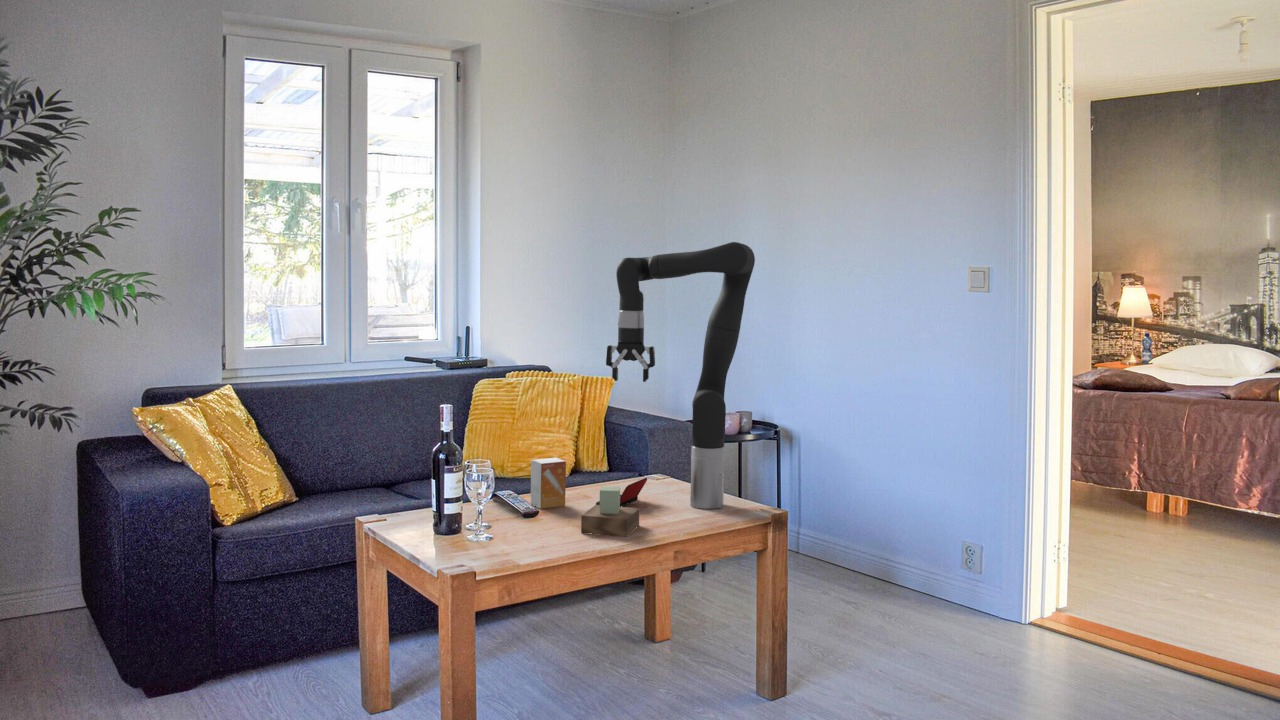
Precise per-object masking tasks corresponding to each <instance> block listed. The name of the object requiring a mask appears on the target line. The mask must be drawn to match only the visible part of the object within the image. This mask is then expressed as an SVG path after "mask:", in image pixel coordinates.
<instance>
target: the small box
mask: <svg viewBox="0 0 1280 720" xmlns="http://www.w3.org/2000/svg"><path fill="white" fill-rule="evenodd" d="M566 473H567V461H566V460H564V459H561V458H559V457H556V456H555V457H549V458H546V457H545V458H540V459H539V458H538V459H537V458H536V459H531V460H530V505H531V504H533V505H534V506H533V505H532V506H533V507H535V506H536V507H535V508H537V509H541V510H543V509H549V508H560V507H565V506H566V487H567V486H566V485H567V484H566V481H567V480H566V478H567V474H566Z"/></svg>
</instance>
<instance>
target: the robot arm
mask: <svg viewBox="0 0 1280 720" xmlns="http://www.w3.org/2000/svg"><path fill="white" fill-rule="evenodd" d="M755 262H756V258H755V254H754V251H753V249H752V248H751V247H750V246H748V245H747V244H744V243H741V242H735V241H731V242H727V243H725V244H721V245H718V246H714V247H711V248H706V249H702V250H696V251H694V250H693V251H684V252H673V253H663V254H661V253H660V254H655V255H652V256H645V257H644V256H643V257H625V258H622V259H621V260H619V262H618V264H617V267H616V272H615V273H616V282H617V289H618V293H619V309H618V310H619V313H618V320H617V321H618V323H617V328H618V329H617V331H618V333H617V337H618V338H617V345H612V344H610V345H608V346H607V347H606V359H605V364H606V366H608V367H610V368H611V369H612V370H611V371H612V373H611V378H612V379H613V380H614V382H617V381H618V379H619V368H618V366H619V365H620V363H621V362H622V361H623V360H624V361H627V362H629V361H632V362H635V361H636V362H637V361H638V363H639V364H641V366H642V367H643V369H642V382H643V383H644V382H645V383H646V382H647V381H648V380H649V374H650V373H649V369H652V368H654V367H655V366H656V357H655V353H656V352H655V346H653V345H652V346H645V344H644V339H645V337H644V336H645V334H644V333H645V314H644V299H645V298H644V294H643V291H641V290H640V282H644V281H651V280H654V279H655V280H665V279H673V278H674V279H675V278H681V277H686V276H690V275H695V274H700V273H701V274H702V273H719V274H723V279H722V284H721V285H722V286H721V289H720V293H719V295H718V298H717V300H716V302H715V303H714V306H713V307H712V311H711V312H710V316H709V318H708V321H707V325H706V326H707V327H706V332H705V336H704V337H705V338H704V344H703V345H704V346H703V353H702V366H701V373H700V377H699V380H698V384H697V387H696V391H695V394H694V397H693V400H692V404H691V406H692V422H691V423H692V426H691V427H692V429H691V430H692V432H691V455H690V456H691V459H690V503H689V504H690V506H691V507H693V508H697V509H705V510H707V509H708V510H715V509H722V508H723V506H724V492H725V491H724V490H725V487H724V486H725V485H724V484H725V471H724V470H725V469H724V464H725V461H724V460H725V459H724V458H725V440H726V439H725V438H726V417H727V416H726V415H727V413H726V412H727V410H726V409H727V408H726V407H727V406H726V402H725V391H726V390H725V389H726V384H727V383H726V381H727V376H728V375H727V374H728V371H729V370H730V366H731V364H732V361H733V359H734V356H735V352H736V350H737V346H738V341H739V337H740V336H739V335H740V333H741V332H740V331H741V326H742V325H741V324H742V319H743V313H744V306H745V301H746V295H747V291H748V287H749V283H750V280H751V277H752V273H753V271H754V268H755V264H756V263H755ZM615 352H617V353H618V354H619V355H618V356H617V358H616V359H615V360H614V362H613V361H612V360H613V354H614V353H615ZM645 352H646V353H647V355H649V363H648V362H647V361H646V359H645V357H644V356H643V354H644V353H645Z"/></svg>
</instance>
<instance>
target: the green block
mask: <svg viewBox="0 0 1280 720" xmlns="http://www.w3.org/2000/svg"><path fill="white" fill-rule="evenodd" d="M620 495H621V486H609V485H607V486H606V485H603V486H601V485H600V488H599V501H600V514H619V511H620Z"/></svg>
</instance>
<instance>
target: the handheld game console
mask: <svg viewBox="0 0 1280 720" xmlns="http://www.w3.org/2000/svg"><path fill="white" fill-rule="evenodd" d="M647 481H648V477H644V478H642V479H640V480H637V481H635V482H632V483H629V484H628V485H627V486H626V487H625V488H624V489H623V491H622V493H621V494H620V507H621V506H623V507H625V506H626V505H628V504H627V503H629V504H631V502H632V503H634V502H636V500H637V501H638V500H639V497H638V496H639V495H640V493H641V492H642V490H643V488H644V486H645V485H646V484H647ZM595 505H600V500H598V501H597V502H596V503H595ZM624 505H625V506H624Z"/></svg>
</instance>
